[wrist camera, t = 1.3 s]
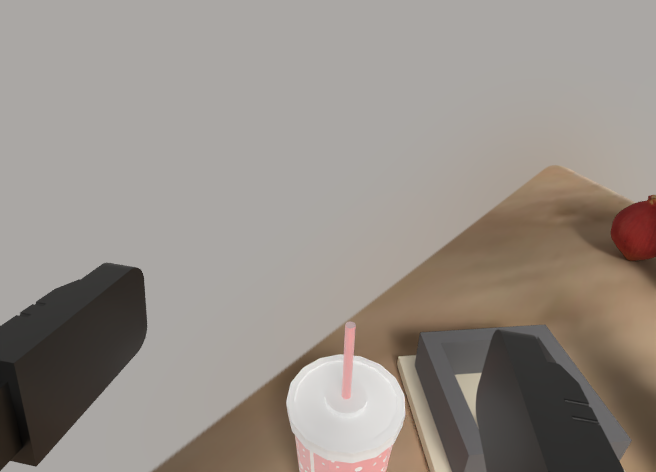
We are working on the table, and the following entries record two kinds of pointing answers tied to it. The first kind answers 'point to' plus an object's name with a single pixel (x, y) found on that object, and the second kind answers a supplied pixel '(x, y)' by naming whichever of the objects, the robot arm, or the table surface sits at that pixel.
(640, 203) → the onion
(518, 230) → the table surface
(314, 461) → the beverage cup
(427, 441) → the grey tray on board
